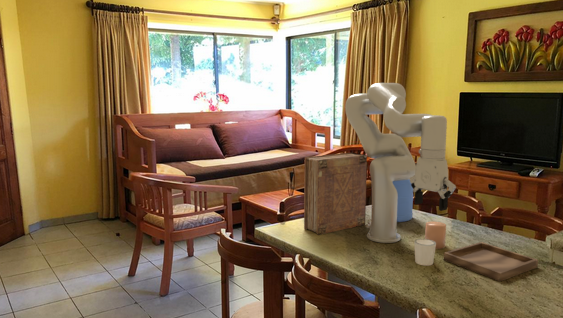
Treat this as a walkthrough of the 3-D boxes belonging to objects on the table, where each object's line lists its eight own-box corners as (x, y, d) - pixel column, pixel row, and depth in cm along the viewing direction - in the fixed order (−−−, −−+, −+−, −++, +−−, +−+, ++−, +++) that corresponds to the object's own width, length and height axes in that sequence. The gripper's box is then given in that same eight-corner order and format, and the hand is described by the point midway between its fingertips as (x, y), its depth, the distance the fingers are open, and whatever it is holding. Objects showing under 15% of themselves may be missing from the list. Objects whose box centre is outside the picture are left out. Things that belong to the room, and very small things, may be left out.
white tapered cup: (436, 267, 140) (437, 246, 139) (414, 265, 141) (415, 244, 140) (433, 259, 147) (434, 239, 146) (412, 257, 148) (413, 237, 147)
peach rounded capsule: (420, 244, 161) (421, 223, 160) (433, 240, 165) (434, 220, 163) (436, 250, 155) (437, 228, 154) (449, 246, 159) (450, 225, 157)
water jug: (418, 217, 196) (421, 155, 192) (401, 224, 185) (403, 159, 181) (387, 210, 207) (389, 152, 203) (369, 217, 195) (371, 155, 191)
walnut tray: (443, 259, 146) (443, 252, 146) (480, 248, 156) (481, 241, 156) (499, 281, 129) (500, 273, 129) (537, 267, 139) (538, 259, 139)
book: (317, 235, 172) (317, 160, 167) (303, 229, 180) (303, 157, 175) (365, 224, 185) (367, 154, 181) (351, 219, 193) (352, 152, 188)
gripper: (403, 152, 144) (401, 202, 147) (448, 158, 130) (445, 214, 132) (419, 150, 148) (417, 199, 151) (464, 156, 134) (461, 211, 136)
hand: (430, 206), depth 142 cm, fingers open, 9 cm apart
